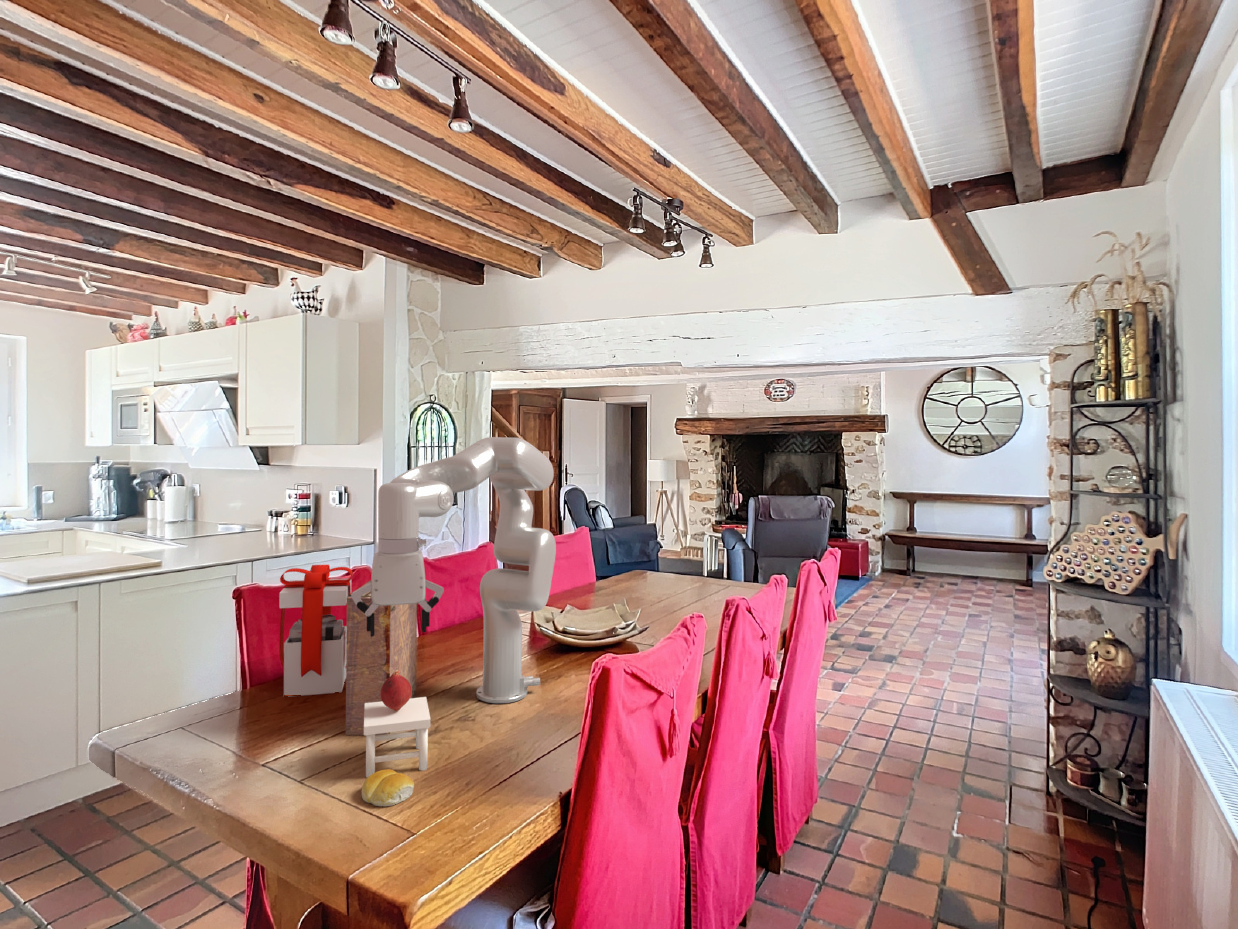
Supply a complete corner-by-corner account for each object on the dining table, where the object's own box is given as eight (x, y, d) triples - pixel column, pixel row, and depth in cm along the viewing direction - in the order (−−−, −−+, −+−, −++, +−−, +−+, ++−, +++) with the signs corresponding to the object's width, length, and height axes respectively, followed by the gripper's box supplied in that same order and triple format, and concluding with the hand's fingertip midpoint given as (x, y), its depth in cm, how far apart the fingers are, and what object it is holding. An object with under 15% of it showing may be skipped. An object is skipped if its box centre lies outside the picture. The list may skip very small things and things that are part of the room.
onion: (395, 719, 131) (393, 678, 130) (374, 713, 134) (373, 673, 133) (418, 708, 136) (417, 668, 135) (398, 702, 139) (396, 663, 138)
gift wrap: (273, 700, 164) (273, 576, 163) (286, 676, 181) (286, 564, 180) (349, 694, 169) (350, 574, 168) (355, 671, 185) (356, 562, 184)
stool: (425, 744, 143) (426, 696, 142) (429, 770, 131) (430, 719, 131) (364, 751, 138) (364, 703, 138) (363, 779, 127) (363, 727, 127)
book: (379, 692, 171) (380, 573, 170) (416, 692, 172) (417, 573, 171) (345, 736, 146) (346, 596, 145) (389, 735, 146) (390, 596, 145)
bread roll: (388, 779, 128) (388, 758, 128) (421, 793, 123) (421, 771, 123) (350, 798, 121) (350, 776, 121) (383, 813, 116) (384, 790, 116)
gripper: (442, 541, 140) (441, 624, 141) (351, 544, 134) (351, 631, 135) (445, 547, 133) (445, 634, 134) (350, 551, 127) (350, 642, 128)
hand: (398, 632), depth 134 cm, fingers open, 9 cm apart
